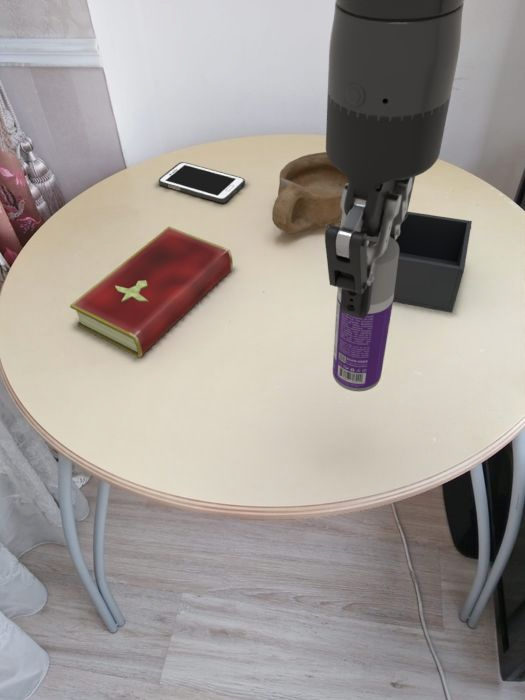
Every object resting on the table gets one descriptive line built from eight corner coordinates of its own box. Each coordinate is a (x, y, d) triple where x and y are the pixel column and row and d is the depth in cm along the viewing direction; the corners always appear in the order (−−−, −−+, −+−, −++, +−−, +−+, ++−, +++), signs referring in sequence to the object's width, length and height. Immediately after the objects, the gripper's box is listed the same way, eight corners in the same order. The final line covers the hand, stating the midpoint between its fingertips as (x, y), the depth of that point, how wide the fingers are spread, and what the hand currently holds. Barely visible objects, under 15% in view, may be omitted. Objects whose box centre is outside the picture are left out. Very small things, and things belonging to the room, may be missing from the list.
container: (391, 379, 54) (413, 253, 43) (350, 399, 52) (362, 274, 41) (362, 348, 57) (377, 223, 46) (323, 366, 55) (328, 241, 44)
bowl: (344, 254, 85) (330, 195, 79) (264, 255, 92) (245, 201, 86) (378, 193, 96) (368, 137, 89) (304, 198, 103) (290, 146, 96)
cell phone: (224, 204, 98) (223, 200, 97) (157, 185, 103) (156, 180, 102) (247, 183, 102) (246, 178, 102) (181, 165, 108) (180, 160, 107)
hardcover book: (233, 271, 86) (231, 248, 83) (142, 359, 74) (135, 336, 71) (172, 246, 91) (168, 224, 87) (77, 326, 79) (69, 304, 76)
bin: (460, 263, 85) (471, 220, 79) (452, 312, 78) (464, 269, 72) (386, 251, 88) (392, 209, 82) (371, 297, 80) (377, 254, 75)
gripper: (415, 148, 29) (380, 365, 42) (477, 50, 38) (433, 255, 50) (284, 124, 32) (288, 335, 44) (370, 37, 40) (353, 236, 53)
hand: (365, 292), depth 47 cm, fingers closed on container, 4 cm apart
